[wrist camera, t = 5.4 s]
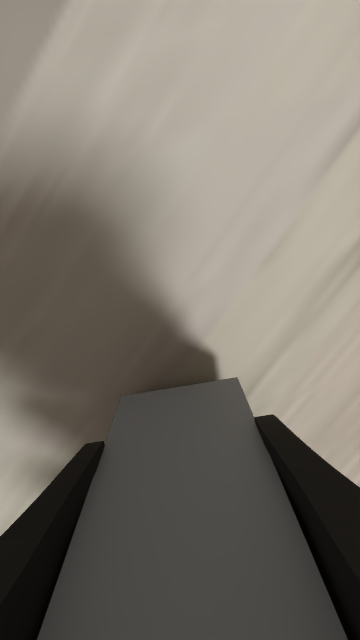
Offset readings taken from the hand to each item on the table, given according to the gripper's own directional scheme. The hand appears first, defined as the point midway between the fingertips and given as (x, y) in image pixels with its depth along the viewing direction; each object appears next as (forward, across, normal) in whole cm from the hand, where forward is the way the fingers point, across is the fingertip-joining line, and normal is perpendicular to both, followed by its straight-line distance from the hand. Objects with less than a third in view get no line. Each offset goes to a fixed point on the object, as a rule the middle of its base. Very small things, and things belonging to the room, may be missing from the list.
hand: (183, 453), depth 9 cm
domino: (+3, 0, 0) cm, 3 cm away
